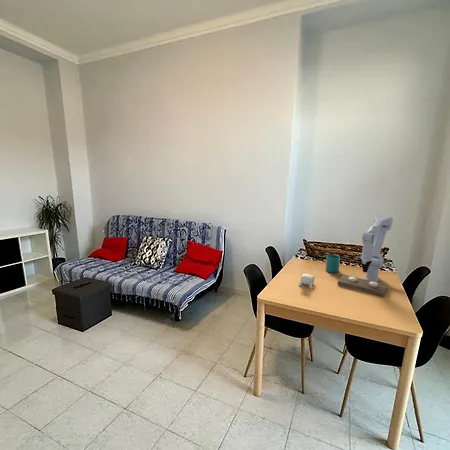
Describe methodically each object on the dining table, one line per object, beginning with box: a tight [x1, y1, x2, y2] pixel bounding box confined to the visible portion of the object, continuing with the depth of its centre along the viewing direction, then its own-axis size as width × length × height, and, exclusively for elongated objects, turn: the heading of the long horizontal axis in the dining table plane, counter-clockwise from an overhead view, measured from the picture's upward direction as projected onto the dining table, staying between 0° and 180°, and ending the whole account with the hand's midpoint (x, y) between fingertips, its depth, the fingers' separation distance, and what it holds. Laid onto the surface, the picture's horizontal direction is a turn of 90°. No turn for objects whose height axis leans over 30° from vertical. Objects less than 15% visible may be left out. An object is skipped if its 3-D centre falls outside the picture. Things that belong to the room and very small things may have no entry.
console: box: [337, 274, 389, 298], centre depth 170 cm, size 14×26×3 cm, turn 51°
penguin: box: [298, 273, 315, 290], centre depth 170 cm, size 9×8×15 cm
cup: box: [325, 254, 341, 274], centre depth 197 cm, size 9×12×11 cm
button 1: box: [348, 276, 358, 282], centre depth 173 cm, size 5×5×4 cm
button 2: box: [369, 282, 379, 287], centre depth 166 cm, size 5×5×4 cm
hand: (364, 271), depth 170 cm, fingers closed
